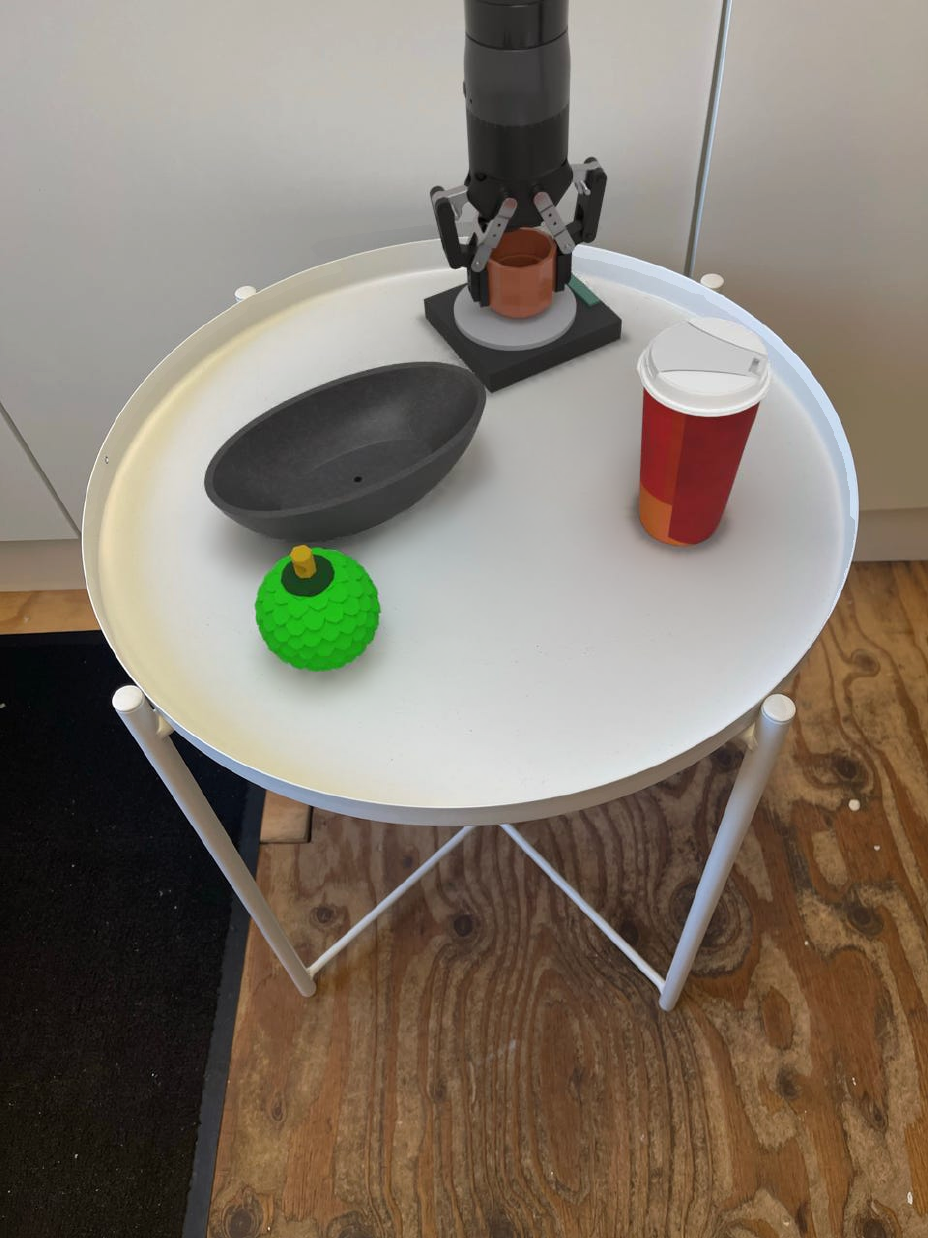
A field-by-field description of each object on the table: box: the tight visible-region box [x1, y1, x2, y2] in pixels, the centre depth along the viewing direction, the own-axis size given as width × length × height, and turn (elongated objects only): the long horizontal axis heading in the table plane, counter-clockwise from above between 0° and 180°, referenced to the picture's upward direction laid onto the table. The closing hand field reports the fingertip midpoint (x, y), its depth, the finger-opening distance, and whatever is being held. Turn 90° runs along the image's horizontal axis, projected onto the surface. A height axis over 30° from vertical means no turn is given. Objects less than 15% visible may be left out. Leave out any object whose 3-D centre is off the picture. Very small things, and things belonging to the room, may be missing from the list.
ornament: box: [254, 544, 382, 673], centre depth 63 cm, size 8×8×10 cm
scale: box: [423, 272, 623, 394], centre depth 85 cm, size 13×12×3 cm
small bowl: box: [486, 227, 557, 318], centre depth 81 cm, size 6×6×5 cm
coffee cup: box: [636, 316, 773, 547], centre depth 66 cm, size 8×8×15 cm
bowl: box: [203, 360, 487, 543], centre depth 73 cm, size 12×22×6 cm, turn 120°
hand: (519, 293), depth 83 cm, fingers closed on small bowl, 6 cm apart
